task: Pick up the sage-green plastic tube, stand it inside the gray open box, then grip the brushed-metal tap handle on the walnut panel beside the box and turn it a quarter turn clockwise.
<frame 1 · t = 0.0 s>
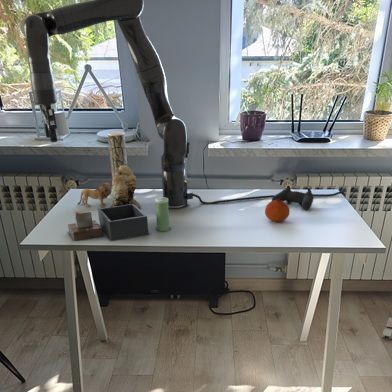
hand: (51, 139, 174), 29 cm above the table, tool pointing down, fingers open, 8 cm apart
gray open box: (123, 230, 182), on the table
birch log: (121, 194, 220), on the table
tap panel: (85, 234, 179), on the table
tap knob: (83, 218, 176), point 6 cm above the table, hinge at 0.0°
green tube: (163, 229, 183), on the table
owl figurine: (124, 209, 202), on the table
lion figurine: (96, 205, 207), on the table
gaming controller: (293, 205, 204), on the table
fruit: (276, 221, 189), on the table
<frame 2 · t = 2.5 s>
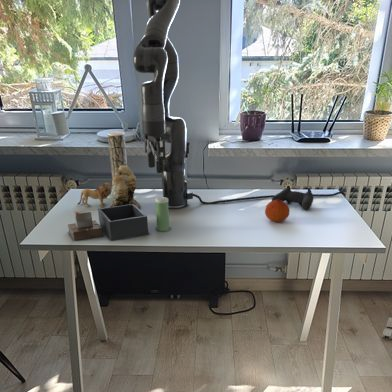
hand: (155, 169, 171), 21 cm above the table, tool pointing down, fingers open, 8 cm apart
nothing on the table moved.
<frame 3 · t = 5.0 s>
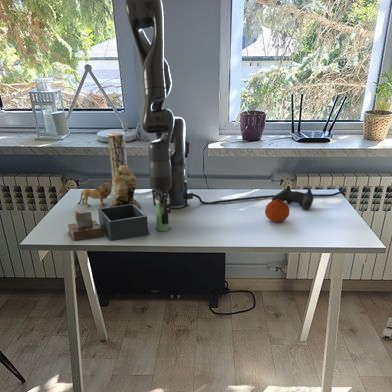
hand: (162, 221, 181), 3 cm above the table, tool pointing down, fingers closed on green tube, 4 cm apart
green tube: (163, 229, 183), on the table, touching gripper
everything else where it was.
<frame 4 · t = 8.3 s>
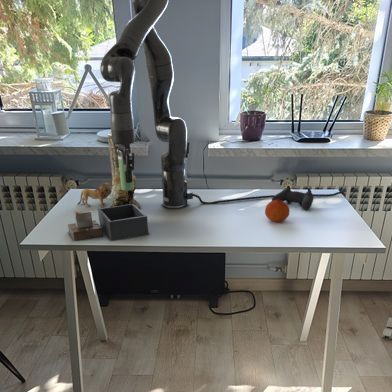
hand: (126, 180, 172), 18 cm above the table, tool pointing down, fingers closed on green tube, 4 cm apart
green tube: (127, 188, 174), point 15 cm above the table, touching gripper
everything else where it was.
when the fingers open (3 cm above the table, at t = 12.0 s): green tube stays where it is, resting on gray open box.
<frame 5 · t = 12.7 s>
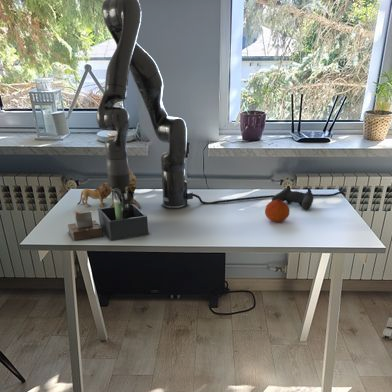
hand: (122, 217, 179), 5 cm above the table, tool pointing down, fingers open, 8 cm apart
green tube: (123, 228, 182), point 1 cm above the table, touching gray open box
everything else where it was.
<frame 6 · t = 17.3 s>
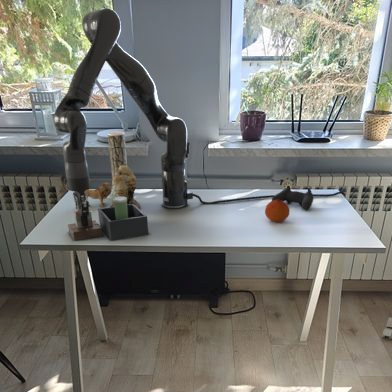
hand: (84, 224, 177), 4 cm above the table, tool pointing down, fingers closed on tap knob, 2 cm apart
tap knob: (83, 218, 176), point 6 cm above the table, hinge at 0.0°, touching gripper
everything else where it was.
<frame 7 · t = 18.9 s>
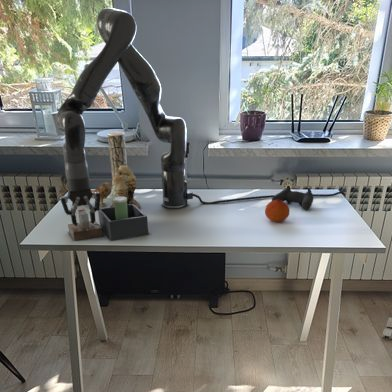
hand: (84, 223, 177), 4 cm above the table, tool pointing down, fingers open, 5 cm apart
tap knob: (83, 218, 176), point 6 cm above the table, hinge at -90.1°
everything else where it was.
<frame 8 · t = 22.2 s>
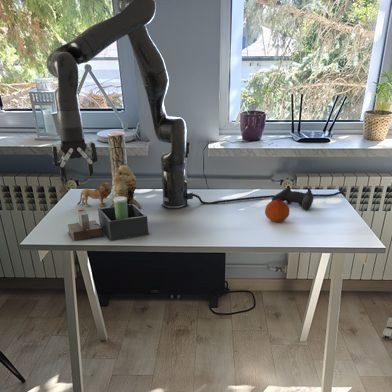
hand: (77, 176, 168), 20 cm above the table, tool pointing down, fingers open, 8 cm apart
nothing on the table moved.
at the end: green tube inside the target area in the gray open box (0.2 cm from its centre), point 0.6 cm above the gray open box's base; tap knob at -90° (first picture: +0°) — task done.
